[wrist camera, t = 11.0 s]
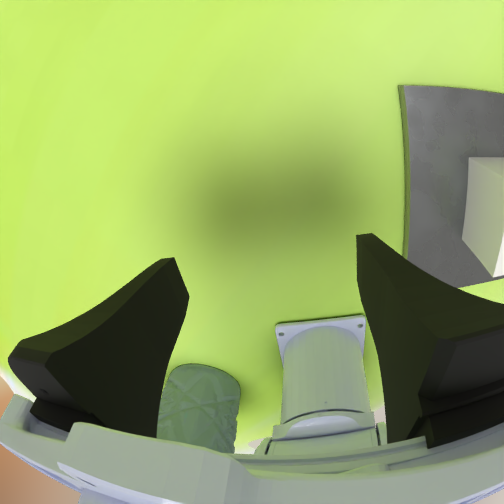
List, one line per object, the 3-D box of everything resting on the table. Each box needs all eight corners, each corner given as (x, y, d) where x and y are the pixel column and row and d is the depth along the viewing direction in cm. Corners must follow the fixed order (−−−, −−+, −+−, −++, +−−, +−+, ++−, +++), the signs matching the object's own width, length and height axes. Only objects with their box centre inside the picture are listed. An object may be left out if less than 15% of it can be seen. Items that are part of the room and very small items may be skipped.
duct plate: (518, 267, 20) (538, 292, 17) (399, 289, 23) (413, 323, 19) (538, 100, 12) (570, 110, 9) (398, 85, 15) (424, 87, 11)
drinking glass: (261, 397, 33) (251, 488, 23) (198, 409, 36) (179, 486, 26) (210, 350, 29) (181, 457, 19) (146, 368, 32) (113, 452, 22)
